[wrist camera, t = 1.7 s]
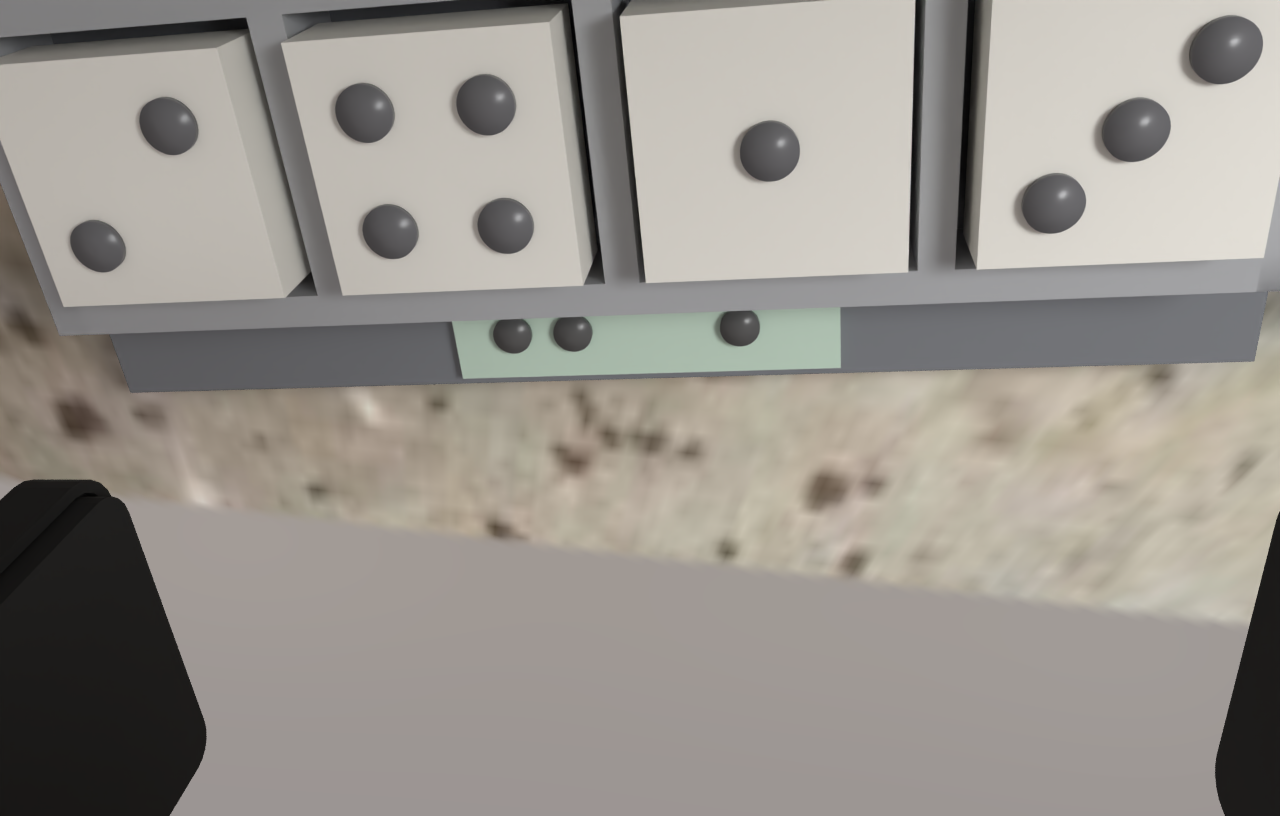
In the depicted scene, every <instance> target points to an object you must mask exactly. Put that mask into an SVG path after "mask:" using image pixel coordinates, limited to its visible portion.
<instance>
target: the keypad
mask: <svg viewBox="0 0 1280 816" xmlns="http://www.w3.org/2000/svg"><path fill="white" fill-rule="evenodd" d="M630 1H631V0H0V57H2V56H5V55H8V54H10V53H13V52H16V51H19V50H22V49H25V48H28V47H30V46H41V45H53V44H65V43H78V42H90V41H103V40H115V39H128V38H140V37H153V36H165V35H178V34H190V33H202V32H215V31H227V30H240V29H249V31H250V35H251V39H252V42H253V46H254V50H255V54H256V58H257V62H258V66H259V70H260V74H261V77H262V81H263V85H264V89H265V93H266V97H267V101H268V105H269V109H270V112H271V116H272V120H273V124H274V128H275V132H276V136H277V140H278V144H279V147H280V151H281V155H282V159H283V163H284V167H285V171H286V175H287V179H288V182H289V186H290V190H291V194H292V198H293V202H294V206H295V210H296V214H297V217H298V221H299V225H300V229H301V233H302V237H303V241H304V245H305V249H306V252H307V256H308V260H309V264H310V268H311V272H310V273H309V274H308V275H307V276H306V277H305V278H304V279H303V280H302V281H301V282H300V283H299V284H298V285H297V286H296V287H295V288H294V289H293V290H292V291H291V292H290V293H289V294H288V296H287V297H286V298H272V299H247V300H223V301H198V302H174V303H149V304H125V305H101V306H76V307H64V306H63V304H62V301H61V298H60V296H59V293H58V290H57V288H56V285H55V283H54V280H53V277H52V275H51V272H50V269H49V267H48V264H47V262H46V259H45V256H44V254H43V251H42V248H41V246H40V243H39V241H38V238H37V235H36V233H35V230H34V227H33V225H32V222H31V220H30V217H29V214H28V212H27V209H26V206H25V204H24V201H23V199H22V196H21V193H20V191H19V188H18V185H17V183H16V180H15V178H14V175H13V172H12V170H11V167H10V164H9V162H8V159H7V157H6V154H5V151H4V149H3V146H2V144H1V141H0V183H1V186H2V188H3V191H4V194H5V196H6V199H7V201H8V204H9V207H10V209H11V212H12V214H13V217H14V219H15V222H16V225H17V227H18V230H19V232H20V235H21V237H22V240H23V243H24V245H25V248H26V250H27V253H28V255H29V258H30V261H31V263H32V266H33V268H34V271H35V273H36V276H37V279H38V281H39V284H40V286H41V289H42V291H43V294H44V297H45V299H46V302H47V304H48V307H49V309H50V312H51V315H52V317H53V320H54V322H55V325H56V327H57V330H58V333H59V335H60V336H67V335H95V334H109V335H110V337H111V340H112V343H113V346H114V348H115V351H116V354H117V357H118V359H119V362H120V365H121V367H122V370H123V373H124V376H125V378H126V381H127V384H128V387H129V389H130V392H131V393H137V392H173V391H209V390H245V389H281V388H317V387H352V386H388V385H424V384H460V383H496V382H532V381H568V380H604V379H640V378H676V377H712V376H748V375H784V374H819V373H855V372H891V371H927V370H963V369H999V368H1035V367H1071V366H1107V365H1143V364H1179V363H1215V362H1251V361H1254V360H1255V355H1256V350H1257V345H1258V340H1259V335H1260V330H1261V325H1262V320H1263V315H1264V310H1265V305H1266V300H1267V295H1268V291H1280V177H1279V182H1278V187H1277V193H1276V198H1275V203H1274V208H1273V213H1272V218H1271V224H1270V229H1269V234H1268V239H1267V244H1266V249H1265V254H1264V258H1249V259H1225V260H1200V261H1176V262H1151V263H1127V264H1103V265H1078V266H1054V267H1029V268H1005V269H980V270H977V269H976V266H975V264H974V261H973V259H972V256H971V253H970V251H969V248H968V245H967V243H966V240H965V237H964V235H963V228H964V208H965V189H966V169H967V150H968V130H969V111H970V92H971V72H972V53H973V33H974V14H975V0H915V32H914V70H913V108H912V146H911V184H910V222H909V260H908V272H907V273H883V274H858V275H834V276H809V277H785V278H760V279H736V280H712V281H687V282H663V283H646V279H645V269H644V259H643V248H642V238H641V228H640V218H639V208H638V198H637V188H636V178H635V167H634V157H633V147H632V137H631V127H630V117H629V107H628V97H627V86H626V76H625V66H624V56H623V46H622V36H621V26H620V15H621V14H622V12H623V11H624V10H625V8H626V7H627V6H628V4H629V3H630ZM564 3H568V8H569V16H570V24H571V33H572V41H573V49H574V58H575V66H576V74H577V83H578V91H579V99H580V108H581V116H582V124H583V133H584V141H585V149H586V158H587V166H588V174H589V183H590V191H591V199H592V208H593V216H594V224H595V233H596V241H597V249H598V251H597V253H596V256H595V258H594V261H593V263H592V266H591V268H590V270H589V273H588V275H587V278H586V280H585V283H584V285H583V286H565V287H540V288H516V289H492V290H467V291H443V292H418V293H394V294H369V295H345V296H343V295H342V291H341V286H340V282H339V278H338V274H337V270H336V266H335V262H334V258H333V254H332V250H331V246H330V242H329V237H328V233H327V229H326V225H325V221H324V217H323V213H322V209H321V205H320V201H319V197H318V193H317V189H316V184H315V180H314V176H313V172H312V168H311V164H310V160H309V156H308V152H307V148H306V144H305V140H304V135H303V131H302V127H301V123H300V119H299V115H298V111H297V107H296V103H295V99H294V95H293V91H292V87H291V82H290V78H289V74H288V70H287V66H286V62H285V58H284V54H283V50H282V46H281V43H282V42H284V41H285V40H287V39H289V38H291V37H293V36H295V35H297V34H299V33H301V32H303V31H305V30H307V29H309V28H311V27H313V26H314V25H316V24H318V23H327V22H339V21H352V20H364V19H377V18H389V17H402V16H414V15H427V14H439V13H452V12H464V11H476V10H489V9H501V8H514V7H526V6H539V5H551V4H564Z"/></svg>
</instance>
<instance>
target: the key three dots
mask: <svg viewBox="0 0 1280 816" xmlns="http://www.w3.org/2000/svg"><path fill="white" fill-rule="evenodd" d="M1279 177H1280V0H975V14H974V33H973V53H972V72H971V92H970V111H969V130H968V150H967V169H966V189H965V208H964V228H963V235H964V237H965V240H966V243H967V245H968V248H969V251H970V253H971V256H972V259H973V261H974V264H975V266H976V269H977V270H980V269H1005V268H1029V267H1054V266H1078V265H1103V264H1127V263H1151V262H1176V261H1200V260H1225V259H1249V258H1264V254H1265V249H1266V244H1267V239H1268V234H1269V229H1270V224H1271V218H1272V213H1273V208H1274V203H1275V198H1276V193H1277V187H1278V182H1279Z"/></svg>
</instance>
